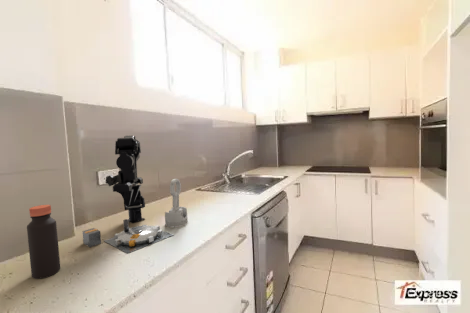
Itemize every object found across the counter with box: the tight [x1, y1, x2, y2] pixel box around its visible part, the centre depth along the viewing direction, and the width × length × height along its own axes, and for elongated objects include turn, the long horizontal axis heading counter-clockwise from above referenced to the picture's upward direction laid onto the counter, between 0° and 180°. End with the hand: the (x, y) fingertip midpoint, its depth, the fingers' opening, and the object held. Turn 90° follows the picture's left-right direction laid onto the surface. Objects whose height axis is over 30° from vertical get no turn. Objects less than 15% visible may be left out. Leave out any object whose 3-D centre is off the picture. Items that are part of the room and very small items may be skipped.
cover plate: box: [103, 230, 174, 254], centre depth 96 cm, size 19×19×1 cm
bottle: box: [26, 204, 61, 280], centre depth 71 cm, size 7×7×20 cm
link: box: [82, 227, 102, 248], centre depth 93 cm, size 6×4×5 cm, turn 51°
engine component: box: [164, 178, 189, 228], centre depth 112 cm, size 11×20×10 cm
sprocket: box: [114, 218, 163, 246], centre depth 96 cm, size 18×18×6 cm
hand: (130, 204), depth 103 cm, fingers open, 6 cm apart
